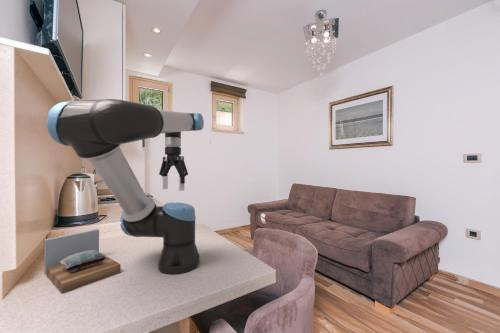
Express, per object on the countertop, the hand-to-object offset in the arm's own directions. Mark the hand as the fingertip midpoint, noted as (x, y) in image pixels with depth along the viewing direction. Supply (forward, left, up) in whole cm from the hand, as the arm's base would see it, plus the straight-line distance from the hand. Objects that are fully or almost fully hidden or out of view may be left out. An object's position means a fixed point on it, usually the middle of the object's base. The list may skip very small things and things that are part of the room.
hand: (172, 189), depth 104 cm
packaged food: (-1, +36, -24) cm, 43 cm away
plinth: (-1, +36, -27) cm, 45 cm away
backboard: (+10, +36, -27) cm, 46 cm away
